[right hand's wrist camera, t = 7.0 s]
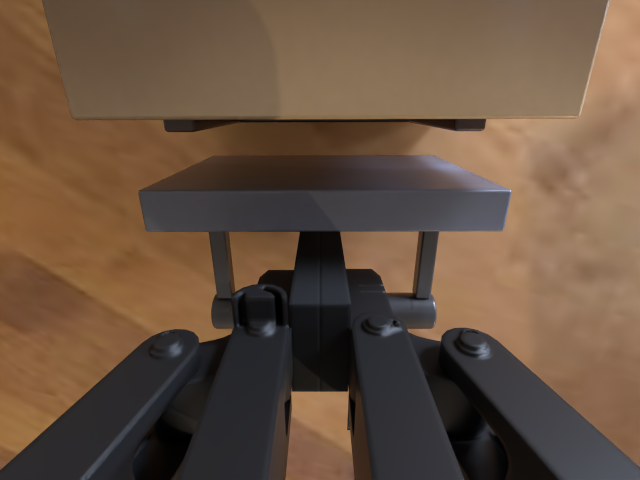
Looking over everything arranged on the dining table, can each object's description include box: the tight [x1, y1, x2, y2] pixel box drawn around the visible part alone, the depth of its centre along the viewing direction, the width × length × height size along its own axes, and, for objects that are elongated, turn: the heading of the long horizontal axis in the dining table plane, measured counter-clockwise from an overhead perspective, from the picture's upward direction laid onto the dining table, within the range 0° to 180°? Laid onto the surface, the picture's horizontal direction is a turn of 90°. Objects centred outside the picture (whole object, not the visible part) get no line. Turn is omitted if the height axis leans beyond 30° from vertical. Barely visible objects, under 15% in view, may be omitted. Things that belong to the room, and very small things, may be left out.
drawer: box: [139, 119, 511, 329], centre depth 11 cm, size 22×10×7 cm, turn 0°
